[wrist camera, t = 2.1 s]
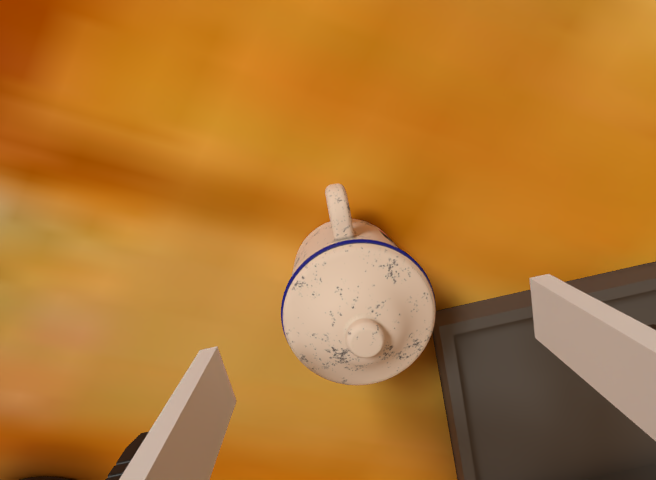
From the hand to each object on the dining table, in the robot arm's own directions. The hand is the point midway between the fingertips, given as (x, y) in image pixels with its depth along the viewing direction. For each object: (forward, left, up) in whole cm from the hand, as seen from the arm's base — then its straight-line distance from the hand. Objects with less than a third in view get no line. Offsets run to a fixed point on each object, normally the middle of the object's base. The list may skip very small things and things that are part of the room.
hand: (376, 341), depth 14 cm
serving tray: (+18, -18, -14) cm, 29 cm away
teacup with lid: (0, 0, -14) cm, 14 cm away
